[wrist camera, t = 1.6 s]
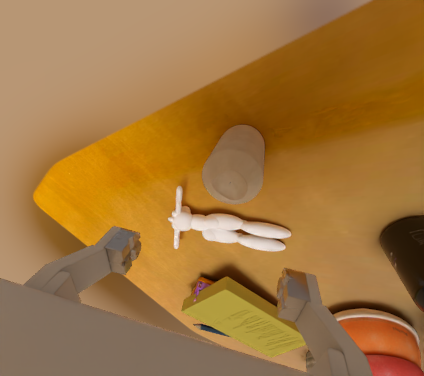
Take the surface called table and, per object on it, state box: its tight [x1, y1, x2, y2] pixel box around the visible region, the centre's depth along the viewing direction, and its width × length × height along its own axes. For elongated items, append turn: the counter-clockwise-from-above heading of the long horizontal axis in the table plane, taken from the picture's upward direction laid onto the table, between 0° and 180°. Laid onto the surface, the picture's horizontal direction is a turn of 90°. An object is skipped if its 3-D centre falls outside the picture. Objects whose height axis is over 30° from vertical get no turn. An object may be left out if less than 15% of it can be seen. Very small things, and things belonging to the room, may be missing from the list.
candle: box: [202, 125, 265, 204], centre depth 22 cm, size 6×6×10 cm
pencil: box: [193, 324, 230, 337], centre depth 45 cm, size 1×1×15 cm
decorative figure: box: [168, 186, 291, 251], centre depth 32 cm, size 4×12×18 cm
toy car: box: [191, 277, 215, 302], centre depth 41 cm, size 6×12×5 cm, turn 167°
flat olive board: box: [181, 276, 306, 358], centre depth 40 cm, size 12×2×24 cm
